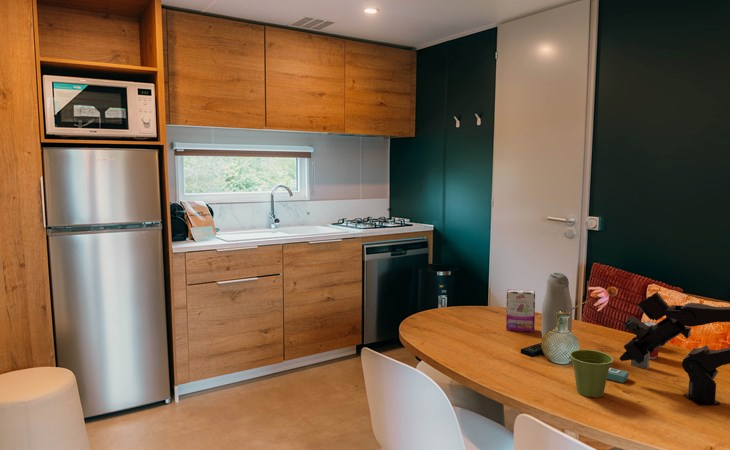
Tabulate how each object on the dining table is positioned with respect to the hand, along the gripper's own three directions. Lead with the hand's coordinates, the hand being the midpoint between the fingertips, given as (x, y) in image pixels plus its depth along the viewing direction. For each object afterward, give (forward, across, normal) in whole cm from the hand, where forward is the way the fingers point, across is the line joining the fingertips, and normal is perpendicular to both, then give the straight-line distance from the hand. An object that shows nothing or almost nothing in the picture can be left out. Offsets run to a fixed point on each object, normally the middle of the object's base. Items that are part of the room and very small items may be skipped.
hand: (620, 359), depth 163 cm
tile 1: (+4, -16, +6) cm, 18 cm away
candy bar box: (+38, -27, -28) cm, 54 cm away
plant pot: (+7, +16, +2) cm, 18 cm away
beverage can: (+4, -28, +6) cm, 28 cm away
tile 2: (+2, 0, +5) cm, 6 cm away
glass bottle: (+24, -15, -14) cm, 31 cm away
